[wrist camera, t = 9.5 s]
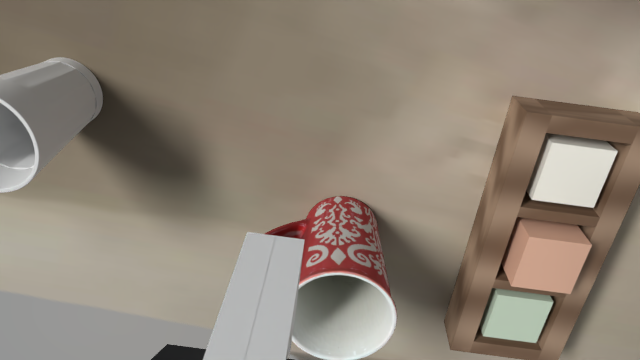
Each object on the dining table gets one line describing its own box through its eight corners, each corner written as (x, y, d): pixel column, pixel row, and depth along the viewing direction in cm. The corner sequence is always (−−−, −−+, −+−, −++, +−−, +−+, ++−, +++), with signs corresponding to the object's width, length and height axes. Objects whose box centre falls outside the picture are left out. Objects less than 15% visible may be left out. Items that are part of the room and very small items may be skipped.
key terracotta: (517, 215, 46) (529, 236, 43) (575, 222, 46) (592, 245, 43) (500, 262, 49) (511, 286, 45) (556, 269, 49) (570, 294, 45)
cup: (124, 77, 45) (52, 125, 34) (96, 147, 48) (23, 210, 38) (38, 30, 44) (-65, 65, 33) (15, 106, 47) (-84, 159, 36)
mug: (403, 207, 49) (418, 298, 37) (363, 274, 53) (366, 376, 41) (283, 158, 48) (259, 238, 36) (252, 231, 52) (221, 324, 40)
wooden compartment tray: (512, 95, 44) (527, 112, 40) (638, 112, 44) (664, 130, 40) (444, 321, 56) (450, 349, 52) (542, 334, 56) (556, 363, 52)
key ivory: (538, 126, 44) (552, 142, 41) (598, 134, 44) (617, 151, 41) (519, 180, 47) (531, 199, 44) (577, 188, 47) (593, 207, 43)
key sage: (488, 271, 52) (497, 294, 48) (541, 278, 52) (553, 302, 48) (475, 311, 54) (483, 336, 51) (525, 318, 54) (535, 343, 51)
